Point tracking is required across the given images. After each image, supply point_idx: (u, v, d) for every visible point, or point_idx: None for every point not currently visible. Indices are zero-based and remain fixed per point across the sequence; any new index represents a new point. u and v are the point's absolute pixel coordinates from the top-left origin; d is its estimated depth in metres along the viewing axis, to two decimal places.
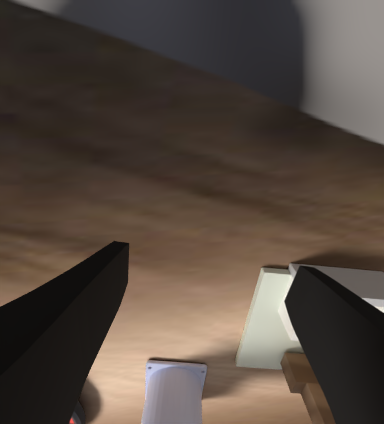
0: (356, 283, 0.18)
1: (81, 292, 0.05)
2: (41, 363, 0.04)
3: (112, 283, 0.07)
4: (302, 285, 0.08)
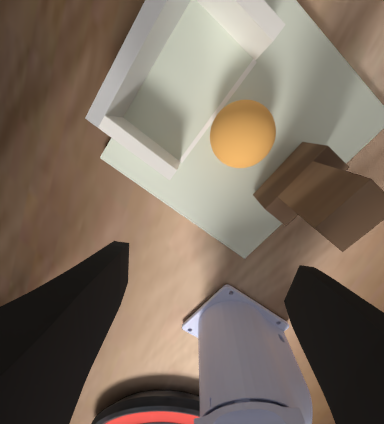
0: None
1: (81, 292, 0.05)
2: (41, 363, 0.04)
3: (112, 283, 0.07)
4: (302, 285, 0.08)
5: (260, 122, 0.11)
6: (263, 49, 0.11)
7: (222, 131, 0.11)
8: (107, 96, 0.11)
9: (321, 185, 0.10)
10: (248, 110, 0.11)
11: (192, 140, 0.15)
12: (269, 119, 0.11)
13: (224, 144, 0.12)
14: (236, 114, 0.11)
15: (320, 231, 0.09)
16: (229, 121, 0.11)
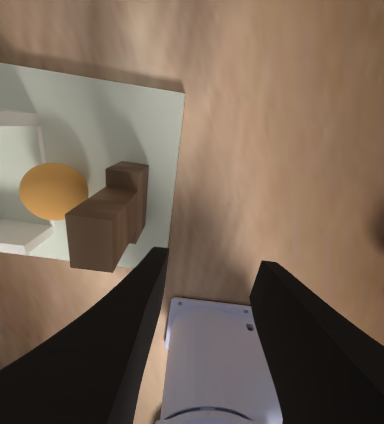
0: None
1: (148, 300, 0.05)
2: (130, 372, 0.04)
3: (160, 289, 0.07)
4: (263, 280, 0.08)
5: (36, 185, 0.12)
6: (16, 125, 0.13)
7: (24, 204, 0.13)
8: None
9: None
10: (25, 181, 0.12)
11: None
12: (46, 177, 0.12)
13: (32, 212, 0.13)
14: (20, 188, 0.13)
15: (77, 267, 0.10)
16: (20, 196, 0.13)
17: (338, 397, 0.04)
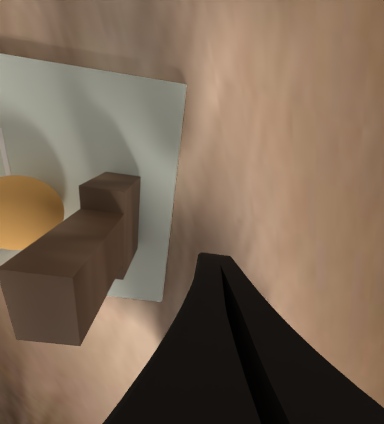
0: None
1: (225, 309, 0.05)
2: None
3: None
4: None
5: None
6: None
7: None
8: None
9: None
10: None
11: None
12: (0, 196, 0.09)
13: None
14: None
15: (26, 339, 0.06)
16: None
17: None
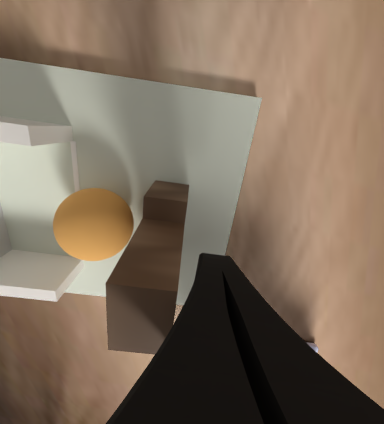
0: None
1: (226, 309, 0.05)
2: None
3: None
4: None
5: (77, 222, 0.09)
6: (50, 143, 0.10)
7: (59, 244, 0.10)
8: None
9: None
10: (62, 216, 0.09)
11: None
12: (90, 210, 0.09)
13: (69, 254, 0.10)
14: (55, 225, 0.10)
15: (117, 349, 0.07)
16: (55, 234, 0.10)
17: None
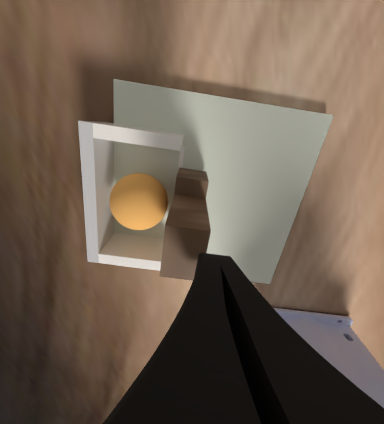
0: None
1: (225, 309, 0.05)
2: None
3: None
4: None
5: None
6: None
7: None
8: (93, 242, 0.14)
9: None
10: None
11: None
12: (121, 178, 0.14)
13: None
14: None
15: (166, 276, 0.10)
16: None
17: None
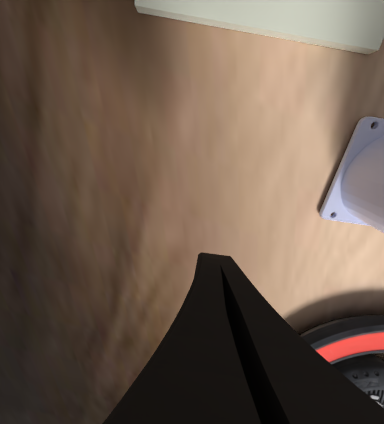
0: None
1: (225, 309, 0.05)
2: None
3: None
4: None
5: None
6: None
7: None
8: None
9: None
10: None
11: None
12: None
13: None
14: None
15: None
16: None
17: None
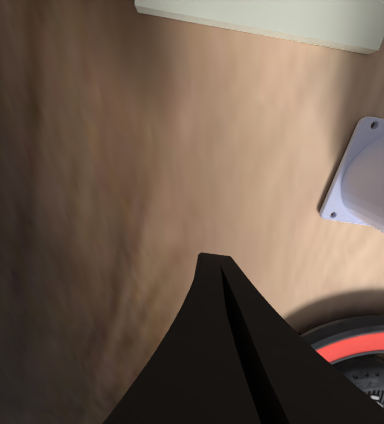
0: None
1: (225, 309, 0.05)
2: None
3: None
4: None
5: None
6: None
7: None
8: None
9: None
10: None
11: None
12: None
13: None
14: None
15: None
16: None
17: None
